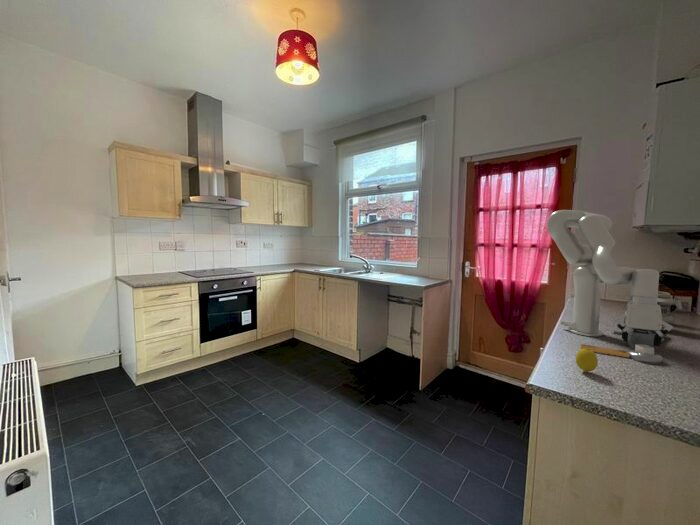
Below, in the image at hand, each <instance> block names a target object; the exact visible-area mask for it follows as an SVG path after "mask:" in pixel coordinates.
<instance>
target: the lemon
mask: <svg viewBox="0 0 700 525" xmlns="http://www.w3.org/2000/svg"><path fill="white" fill-rule="evenodd" d="M598 362H599V361H598V356H597V353H595V352H593V351H591V350H589V349H588V348H586V349H581V348H580V349H579V350H578V351H577V353H576V356H575V363H576V365H577V367H578V368H579V369H580V370H582V371H583V372H584V371H585V372H584V373H589V372H593V371H594V370H595V369H597V367H598V364H599V363H598Z"/></svg>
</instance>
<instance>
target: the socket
mask: <svg viewBox="0 0 700 525" xmlns="http://www.w3.org/2000/svg"><path fill="white" fill-rule="evenodd" d="M627 332H628V342H626V344H627V345H628V346H629V349H635V344H636V345H647V346H650V347H653V348H654V345H653V344H654V334H652V333H651V332H650V331H649V330H643V329H634V328H633V329H632V328H630V329H629V330H627Z"/></svg>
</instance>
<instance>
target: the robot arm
mask: <svg viewBox="0 0 700 525" xmlns="http://www.w3.org/2000/svg"><path fill="white" fill-rule="evenodd" d="M612 226H613V222H612V219H611V218H610V217H608V216H607V215H604V214H600V213H599V214H598V213H594V212H589V211H584V210H577V209H559V210H556V211H554V212H552V213H551V214H550V215H549V216H548V219H547V222H546V229H547V232H548V234H549V236H550V237H551V239H552V240H553V241H554V243H555V244H556V246H557V248H558V249H559V251H560V253H561V254H562V256H563V257H564V260H565V261H566V262H567V263H568V264H570V265H575V266H577V265H579V266H578V267H577V268H575V269H574V271H573V273H572V280H573V288H574V289H573V291H574V292H573V310H572V311H573V312H572V313H573V314H572V319H571V320H569V321H565V320H560V326H564V327H567V330H568V332H570V333H573V334H576V335H581V336H585V337H597V338H598V337H602V336H603V335H604V333H603V331H601V330H599V329H600V318H601V317H600V313H601V302H602V301H601V300H602V295H601V289H600V286H601V285H608V286H613V287H614V286H627V285H629V286H630V294H629V295H626V296H625V300H628V302H627V304H626V307H625V312H624V315H623V316H620V317H616V318H614V319H613V322H614V324H615V325H616V326H617V328H618V329H620V330H621V332H622V336H621V339H622V340H623V341H624V343H627V342H628V330H629V329H632V328H634V329H643V330H651V331H655V332H656V334H655V336H654V344H655V345H654V346H656V347H660V345H661V344H662V343H661V338H662V336H663V335H665V334H667V335H668V334H669V332H670V331H672V329H674V326H673V325H672V324H668V323H666V322H664V321H662V315H661V308H660V305H657V298H658V291H659V282H660V281H659V280H660V272H659V271H658V270H657V269H651V268H635V267H628V266H617V265H616V263H615V261H614V259H613V257H612V252H611V251H612V249H613V248H614V246H615V245H616V241H615V239H614V238H613V237H612V235H611V233H610V232H609V231H610V230H611V229H612ZM569 228H571V229H572V228H574V229H578V230H579V231H580V233H581V234H582V236H583V238H584V240H585V241H586V243H587V244H583V243H582V242H581V241H580V240H579V239H578V237H577V236H576V235H575V233H574V232H573V231H572V230H571V229H569ZM621 322H623V323H624V325H623V326H622V324H621ZM662 327H664V328H665V329H663V330H661V328H662ZM660 330H661V331H660Z"/></svg>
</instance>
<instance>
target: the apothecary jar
mask: <svg viewBox="0 0 700 525" xmlns="http://www.w3.org/2000/svg"><path fill="white" fill-rule="evenodd" d="M675 303H676V301H675V300H674V298H672V297H671V293H670V292H666V291H660V290H658V298H657V305H660V308H661V315H662V321H664V322H666V323H668V324H669V325H671V324H672V323H673V322H674V320H675V319H674V316H672V315H671V308H672V306H673V305H675ZM663 329H665V326H662V328H661V330H663Z"/></svg>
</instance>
